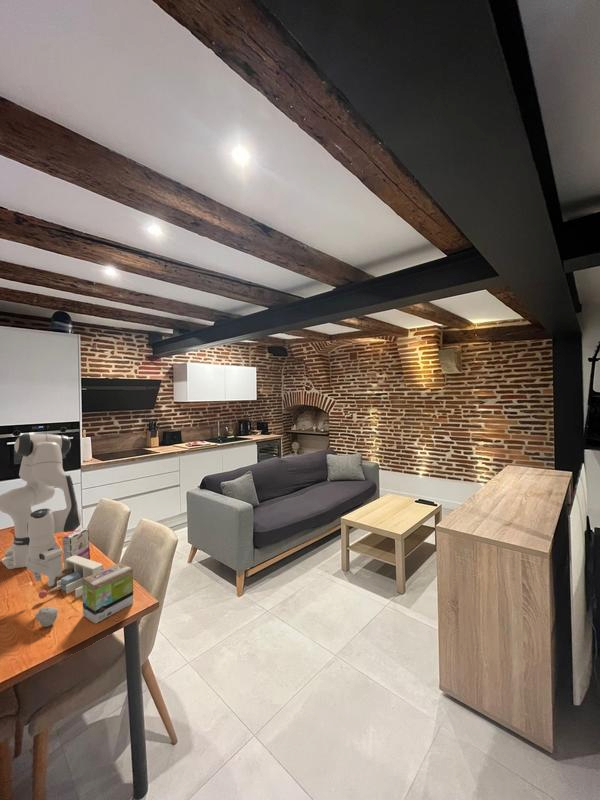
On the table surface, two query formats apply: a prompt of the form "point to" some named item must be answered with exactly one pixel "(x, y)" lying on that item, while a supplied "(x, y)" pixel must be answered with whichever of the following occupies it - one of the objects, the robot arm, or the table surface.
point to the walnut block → (63, 574)
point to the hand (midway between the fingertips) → (44, 582)
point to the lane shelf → (82, 567)
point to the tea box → (107, 592)
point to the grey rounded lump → (46, 616)
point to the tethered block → (62, 583)
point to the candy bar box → (76, 544)
